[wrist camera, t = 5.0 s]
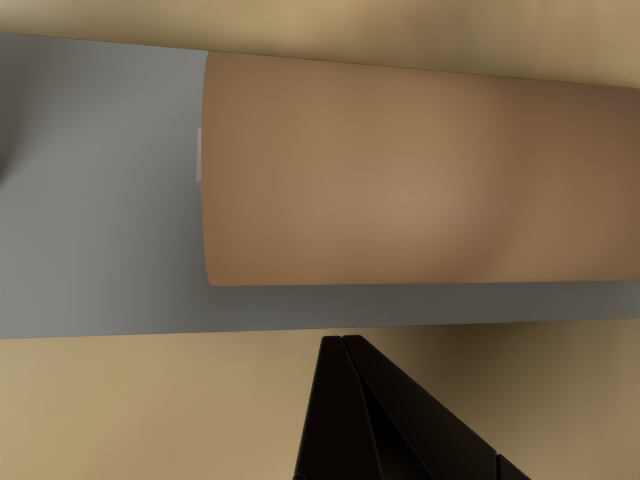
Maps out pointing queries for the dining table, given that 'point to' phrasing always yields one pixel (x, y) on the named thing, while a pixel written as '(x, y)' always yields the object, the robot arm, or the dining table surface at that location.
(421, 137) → the walnut lever
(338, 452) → the robot arm
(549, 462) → the dining table surface
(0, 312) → the long grey mounting plate
